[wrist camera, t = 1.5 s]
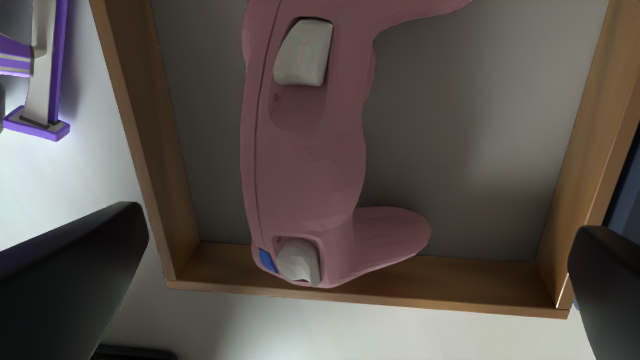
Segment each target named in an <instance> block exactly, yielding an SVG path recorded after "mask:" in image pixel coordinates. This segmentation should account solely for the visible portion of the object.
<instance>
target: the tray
mask: <svg viewBox="0 0 640 360" xmlns="http://www.w3.org/2000/svg"><path fill="white" fill-rule="evenodd" d="M601 226H604V227H607V228H609V229H611V230H613V231H615V232H616V233H618V234H620V235H622V236H624V237H626V238H628V239H629V240H631V241H633V242H635V243H637V244H639V245H640V121H639V124H638V127H637V129H636V132H635V135H634V138H633V140H632V143H631V146H630V148H629V151H628V154H627V157H626V159H625V162H624V165H623V167H622V170H621V173H620V176H619V178H618V181H617V184H616V186H615V189H614V192H613V195H612V197H611V200H610V203H609V206H608V208H607V211H606V214H605V216H604V219H603V222H602V225H601ZM573 303H574V305H575V307H576V309H577V310H579V308H578V304H577V301H576V297H575V298H574V301H573Z"/></svg>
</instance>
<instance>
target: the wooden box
mask: <svg viewBox="0 0 640 360" xmlns="http://www.w3.org/2000/svg"><path fill="white" fill-rule="evenodd" d="M89 3H90V7H91V10H92V14H93V18H94V21H95V25H96V29H97V32H98V36H99V40H100V43H101V47H102V51H103V54H104V58H105V61H106V65H107V69H108V72H109V76H110V80H111V83H112V87H113V91H114V94H115V98H116V102H117V105H118V109H119V113H120V116H121V120H122V124H123V127H124V131H125V135H126V138H127V142H128V146H129V149H130V153H131V156H132V160H133V164H134V167H135V171H136V175H137V178H138V182H139V186H140V189H141V193H142V197H143V200H144V204H145V208H146V211H147V215H148V219H149V222H150V226H151V230H152V233H153V237H154V241H155V244H156V248H157V251H158V255H159V259H160V262H161V266H162V270H163V273H164V277H165V279H166V284H167V288H168V289H179V290H192V291H205V292H218V293H231V294H244V295H257V296H270V297H282V298H295V299H308V300H321V301H334V302H347V303H360V304H373V305H385V306H398V307H411V308H424V309H437V310H450V311H463V312H476V313H489V314H501V315H514V316H527V317H540V318H553V319H567V317H568V314H569V312H570V309H571V306H572V303H573V301H574V298H575V294H574V291H573V287H572V284H571V281H570V277H569V274H568V270H567V259H568V255H569V252H570V249H571V246H572V243H573V241H574V238H575V235H576V232H577V230H578V228H579V227H581V226H583V225H593V226H601V225H602V222H603V219H604V216H605V214H606V211H607V208H608V206H609V203H610V200H611V197H612V195H613V192H614V189H615V186H616V184H617V181H618V178H619V176H620V173H621V170H622V167H623V165H624V162H625V159H626V157H627V154H628V151H629V148H630V146H631V143H632V140H633V138H634V135H635V132H636V129H637V127H638V124H639V121H640V0H610V2H609V5H608V9H607V12H606V16H605V19H604V23H603V26H602V30H601V33H600V37H599V40H598V44H597V47H596V51H595V54H594V57H593V61H592V64H591V68H590V71H589V75H588V78H587V82H586V85H585V89H584V92H583V96H582V99H581V103H580V106H579V110H578V113H577V117H576V120H575V123H574V127H573V130H572V134H571V137H570V141H569V144H568V148H567V151H566V155H565V158H564V162H563V165H562V169H561V172H560V176H559V179H558V182H557V186H556V189H555V193H554V196H553V200H552V203H551V207H550V210H549V214H548V217H547V221H546V224H545V228H544V231H543V235H542V238H541V241H540V245H539V248H538V252H537V255H536V259H535V263H529V262H513V261H497V260H481V259H465V258H449V257H433V256H417V255H414V256H412V257H410V258H407V259H405V260H402V261H400V262H398V263H394V264H391V265H388V266H385V267H382V268H379V269H376V270H373V271H370V272H367V273H365V274H363V275H360V276H358V277H356V278H354V279H352V280H350V281H348V282H345V283H343V284H341V285H338V286H336V287H332V288H319V287H308V286H300V285H296V284H292V283H290V282H288V281H286V280H284V279H283V278H280V277H278V276H276V275H273V274H271V273H269V272H267V271H264V270H263V269H261V268H260V267H258V266H257V265H256V263H255V261H254V259H253V256H252V251H251V245H240V244H224V243H208V242H200V239H199V234H198V229H197V224H196V220H195V215H194V210H193V205H192V200H191V195H190V191H189V186H188V181H187V176H186V171H185V167H184V162H183V157H182V152H181V147H180V143H179V138H178V133H177V128H176V123H175V118H174V114H173V109H172V104H171V99H170V94H169V90H168V85H167V80H166V75H165V70H164V65H163V61H162V56H161V51H160V46H159V41H158V37H157V32H156V27H155V22H154V17H153V13H152V8H151V3H150V0H89Z"/></svg>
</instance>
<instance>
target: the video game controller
mask: <svg viewBox="0 0 640 360" xmlns="http://www.w3.org/2000/svg"><path fill="white" fill-rule="evenodd" d="M472 1H473V0H249V1H248V4H247V7H246V10H245V13H244V19H243V26H242V49H243V55H244V60H245V64H246V69H247V72H246V77H245V83H244V93H243V102H242V112H241V125H240V168H241V181H242V190H243V198H244V206H245V210H246V215H247V220H248V224H249V228H250V231H251V235H252V241H251V251H252V256H253V259H254V261H255V263H256V265H257V266H258V267H260V268H261V269H263V270H264V271H267V272H269V273H271V274H273V275H276V276H278V277H280V278H283V279H284V280H286V281H288V282H290V283H292V284H296V285H300V286H308V287H319V288H332V287H336V286H338V285H341V284H343V283H345V282H348V281H350V280H352V279H354V278H356V277H358V276H360V275H363V274H365V273H367V272H370V271H373V270H376V269H379V268H382V267H385V266H388V265H391V264H394V263H398V262H400V261H402V260H405V259H407V258H410V257H412V256H414V255H416V254H417V253H418V252H419V251H421V250H422V249H423V248H424V247H425V246H426V245H427V243H428V241H429V239H430V237H431V227H430V224H429V223H428V222H427V221H426V220H425V219H424V218H423V217H422V216H420V215H419V214H417V213H416V212H413V211H410V210H407V209H404V208H399V207H391V206H373V207H360V208H355V206H356V204H357V202H358V200H359V196H360V193H361V189H362V186H363V182H364V178H365V167H366V158H367V148H366V143H365V141H364V134H363V126H362V106H363V105H364V103H365V102H366V100H367V98H368V96H369V93H370V90H371V87H372V84H373V80H374V75H375V70H376V55H375V50H374V47H373V45H372V44H373V41H374V39H375V38H376V36H377V35H378V34H379V33H380V32H382V31H383V30H385V29H387V28H389V27H392V26H395V25H398V24H400V23H403V22H406V21H409V20H414V19H420V18H425V17H430V16H435V15H441V14H446V13H451V12H455V11H456V10H458V9H460V8H462V7H464V6H466V5H467V4H469V3H470V2H472Z"/></svg>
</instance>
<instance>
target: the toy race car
mask: <svg viewBox="0 0 640 360" xmlns="http://www.w3.org/2000/svg"><path fill="white" fill-rule="evenodd" d="M67 6H68V0H33V15H32V37H31V46H30V45H27V44H24V43H22V42H20V41H18V40H16V39H14V38H11V37H9V36H7V35H5V34H3V33H1V32H0V74H5V75H13V76H20V77H28V78H30V81H29V90H28V94H27V98H26V102H25V106H24V105H21V106H19V107H17V108H16V109H15V110H13V111H12V112H11V113H9V114H8V115H7V116H5V90H4V88H3V86H2V85H1V83H0V133H1V132H2V130H3V128H6V129H9V130H13V131H17V132H21V133H25V134H29V135H33V136H37V137H41V138H44V139H48V140H51V141H55V142H57V141H59V140H60V139H62V138H63V137H64V136H66V135H67V134H68V133H69V132H70V124H68V123H66V122H63V121H61V120H59V119H58V110H59V99H60V87H61V76H62V64H63V53H64V41H65V30H66V18H67Z"/></svg>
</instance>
